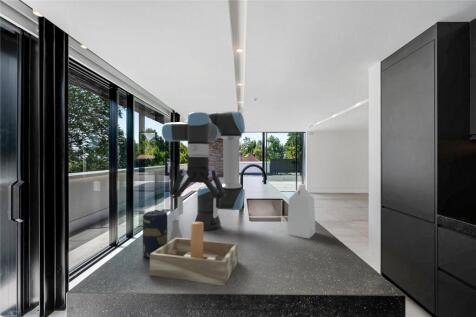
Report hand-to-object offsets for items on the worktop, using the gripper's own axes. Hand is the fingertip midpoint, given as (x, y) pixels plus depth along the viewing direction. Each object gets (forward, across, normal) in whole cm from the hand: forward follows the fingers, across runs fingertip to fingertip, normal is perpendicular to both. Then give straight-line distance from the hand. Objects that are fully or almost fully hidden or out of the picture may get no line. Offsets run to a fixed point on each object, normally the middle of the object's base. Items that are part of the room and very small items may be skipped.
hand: (197, 215), depth 89 cm
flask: (+19, -21, +24) cm, 37 cm away
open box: (+19, 0, 0) cm, 19 cm away
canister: (+19, -21, +6) cm, 29 cm away
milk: (+20, +37, +52) cm, 67 cm away
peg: (+19, 0, 0) cm, 19 cm away
